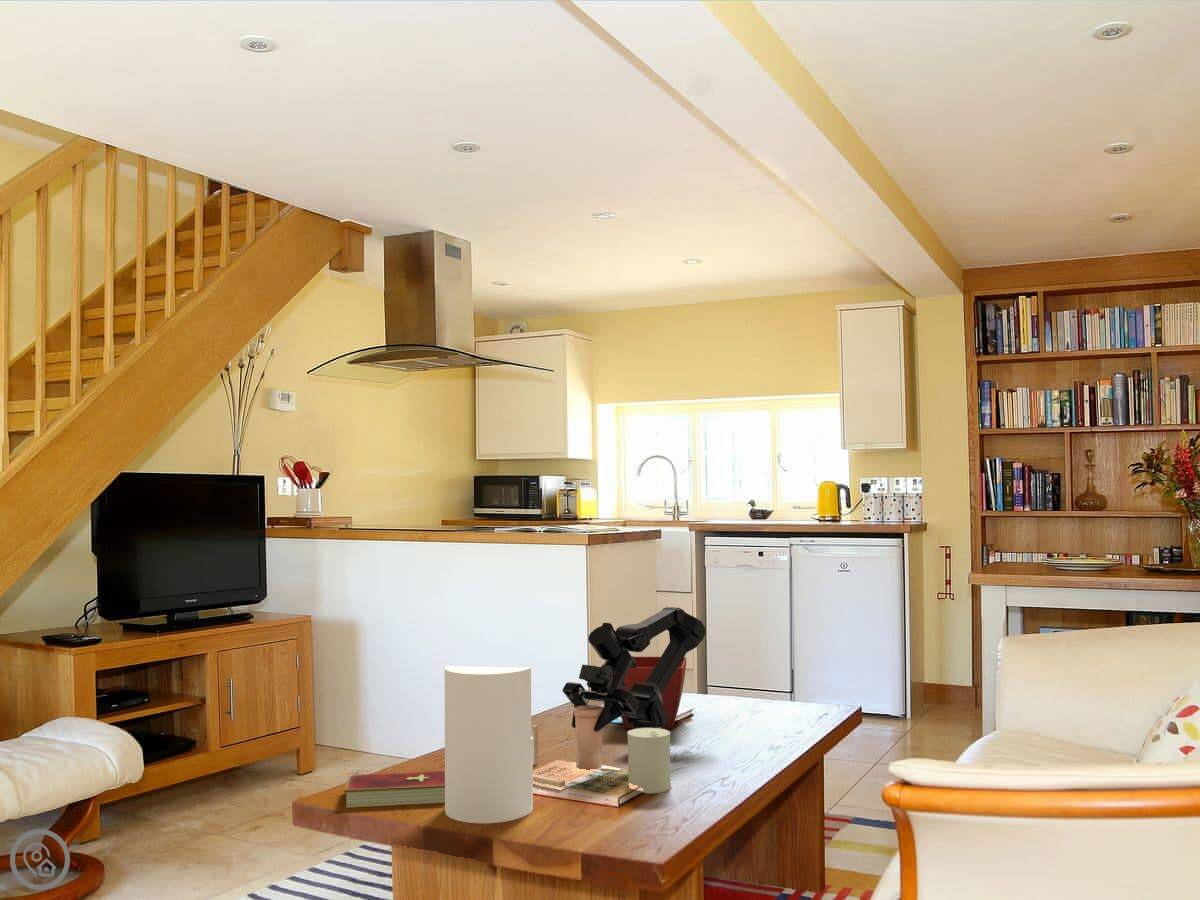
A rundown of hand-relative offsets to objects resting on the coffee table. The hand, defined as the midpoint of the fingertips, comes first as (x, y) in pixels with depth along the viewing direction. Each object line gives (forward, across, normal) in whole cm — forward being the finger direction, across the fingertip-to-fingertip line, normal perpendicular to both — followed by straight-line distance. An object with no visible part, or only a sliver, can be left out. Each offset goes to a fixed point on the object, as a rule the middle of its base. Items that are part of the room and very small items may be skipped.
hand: (584, 728), depth 234 cm
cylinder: (+30, +3, -17) cm, 34 cm away
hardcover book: (+34, -19, -20) cm, 43 cm away
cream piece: (+10, -3, +3) cm, 11 cm away
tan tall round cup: (+5, 0, +7) cm, 9 cm away
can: (+8, +19, +6) cm, 21 cm away
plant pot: (-27, -16, +41) cm, 51 cm away
